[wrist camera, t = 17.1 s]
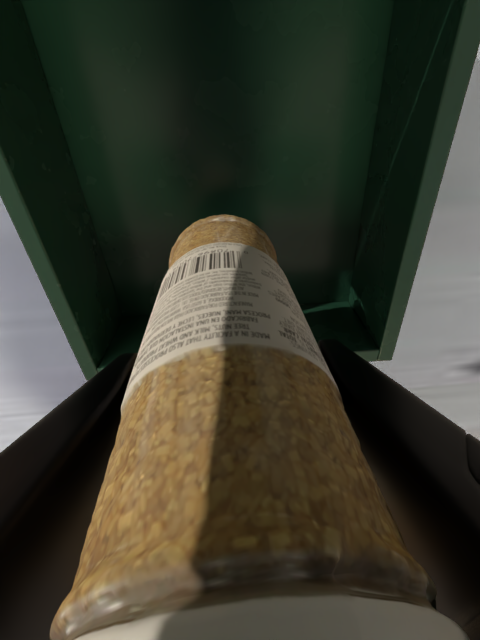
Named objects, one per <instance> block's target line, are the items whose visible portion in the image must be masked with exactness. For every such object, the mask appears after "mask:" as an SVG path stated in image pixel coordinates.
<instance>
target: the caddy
mask: <svg viewBox="0 0 480 640" xmlns="http://www.w3.org/2000/svg"><path fill="white" fill-rule="evenodd" d="M479 44H480V0H0V196H1V198H2V200H3V203H4V205H5V207H6V209H7V211H8V213H9V215H10V218H11V220H12V222H13V224H14V226H15V228H16V230H17V233H18V235H19V237H20V239H21V241H22V243H23V245H24V248H25V250H26V252H27V254H28V256H29V258H30V260H31V263H32V265H33V267H34V269H35V271H36V273H37V275H38V278H39V280H40V282H41V284H42V286H43V288H44V290H45V292H46V295H47V297H48V299H49V301H50V303H51V305H52V307H53V310H54V312H55V314H56V316H57V318H58V320H59V322H60V325H61V327H62V329H63V331H64V333H65V335H66V337H67V340H68V342H69V344H70V346H71V348H72V350H73V352H74V355H75V357H76V359H77V361H78V363H79V365H80V367H81V370H82V372H83V374H84V376H85V378H86V380H90V379H91V378H92V377H94V376H95V375H96V374H97V373H98V372H100V371H101V370H102V369H103V368H105V367H106V366H107V365H108V364H109V363H111V362H112V361H113V360H114V359H116V358H117V357H118V356H119V355H121V354H124V353H138V352H139V349H140V346H141V343H142V340H143V337H144V334H145V331H146V328H147V325H148V322H149V319H150V316H151V313H152V310H153V307H154V304H155V301H156V298H157V295H158V292H159V290H160V287H161V283H162V281H163V279H164V277H165V275H166V273H167V271H168V270H169V258H170V253H171V250H172V247H173V246H174V245H175V243H176V241H177V239H178V237H179V236H180V234H181V233H182V232H183V231H184V230H185V229H186V228H188V227H189V226H190V225H192V224H193V223H194V222H196V221H198V220H200V219H205V218H207V217H209V216H215V215H224V214H226V215H234V216H237V217H241V218H244V219H246V220H248V221H250V222H252V223H254V224H255V225H257V226H258V227H259V228H260V229H261V230H263V231H264V232H265V233H266V235H267V236H268V237H269V239H270V241H271V243H272V244H273V247H274V249H275V252H276V257H277V262H278V265H279V267H280V268H281V269H282V271H283V272H284V274H285V276H286V278H287V280H288V282H289V284H290V286H291V289H292V291H293V293H294V295H295V297H296V299H297V301H298V303H299V306H300V308H301V310H302V312H303V314H304V317H305V319H306V321H307V323H308V325H309V327H310V329H311V331H312V334H313V336H314V338H315V340H316V343H317V345H318V342H319V341H320V340H325V339H336V340H338V341H339V342H341V343H342V344H343V345H345V346H346V347H348V348H349V349H350V350H352V351H353V352H355V353H356V354H357V355H359V356H360V357H362V358H363V359H364V360H366V361H367V362H370V361H385V360H392V357H393V353H394V350H395V346H396V342H397V339H398V335H399V332H400V328H401V324H402V321H403V317H404V314H405V310H406V306H407V303H408V299H409V296H410V292H411V288H412V285H413V281H414V278H415V274H416V270H417V267H418V263H419V260H420V256H421V252H422V249H423V245H424V242H425V238H426V234H427V231H428V227H429V224H430V220H431V217H432V213H433V209H434V206H435V202H436V199H437V195H438V191H439V188H440V184H441V181H442V177H443V173H444V170H445V166H446V163H447V159H448V155H449V152H450V148H451V145H452V141H453V137H454V134H455V130H456V127H457V123H458V119H459V116H460V112H461V109H462V105H463V101H464V98H465V94H466V91H467V87H468V83H469V80H470V76H471V73H472V69H473V65H474V62H475V58H476V55H477V51H478V47H479Z"/></svg>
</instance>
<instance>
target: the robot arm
mask: <svg viewBox="0 0 480 640" xmlns="http://www.w3.org/2000/svg"><path fill="white" fill-rule="evenodd" d="M318 347H319V349H320V351H321V353H322V355H323V357H324V360H325V362H326V364H327V366H328V368H329V370H330V372H331V374H332V376H333V378H334V380H335V382H336V385H337V387H338V389H339V392H340V394H341V397H342V401H343V405H344V410H345V413H346V415H347V417H348V419H349V421H350V423H351V426H352V428H353V430H354V432H355V434H356V436H357V438H358V440H359V442H360V447H361V451H362V453H363V455H364V457H365V458H366V460H367V463H368V465H369V466H370V468H371V470H372V472H373V474H374V476H375V479H376V482H377V485H378V487H379V489H380V492H381V494H382V496H383V498H384V500H385V502H386V504H387V505H388V507H389V509H390V512H391V514H392V516H393V519H394V521H395V523H396V525H397V527H398V529H399V531H400V533H401V535H402V538H403V540H404V543H405V546H406V549H407V551H408V552H409V553H410V555H411V556H412V557H413V558H414V559H415V561H416V562H417V563H418V564H420V565H421V566H422V567H423V568H424V569H425V571H426V572H427V574H428V575H429V577H430V579H431V580H432V582H433V583H434V585H435V587H436V590H437V595H436V598H435V600H436V610H437V611H438V612H440V613H441V614H443V615H444V616H446V617H448V618H449V619H451V620H453V621H454V622H456V623H457V624H458V625H459V626H460V627H461V628H462V629H463V630H464V631H465V632H466V634H467V636H468V637H469V639H470V640H480V441H479V440H477V439H476V438H475V437H473V436H472V435H470V434H466V432H465V431H464V430H463V429H462V428H460V427H459V426H457V425H456V424H455V423H453V422H452V421H450V420H449V419H448V418H446V417H445V416H443V415H442V414H441V413H439V412H438V411H436V410H435V409H434V408H432V407H431V406H429V405H428V404H426V403H425V402H424V401H422V400H421V399H419V398H418V397H417V396H415V395H414V394H412V393H411V392H410V391H408V390H407V389H405V388H404V387H403V386H401V385H400V384H398V383H397V382H395V381H394V380H393V379H391V378H390V377H388V376H387V375H386V374H384V373H383V372H381V371H380V370H379V369H377V368H376V367H374V366H373V365H372V364H370V363H369V362H367V361H366V360H364V359H363V358H362V357H360V356H359V355H357V354H356V353H355V352H353V351H352V350H350V349H349V348H348V347H346V346H345V345H343V344H342V343H341V342H339V341H338V340H336V339H325V340H320V341H319V342H318ZM137 355H138V353H124V354H121V355H119V356H118V357H117V358H116V359H114V360H113V361H112V362H111V363H109V364H108V365H107V366H106V367H105V368H103V369H102V370H101V371H100V372H98V373H97V374H96V375H95V376H94V377H92V378H91V379H90V380H89V381H87V382H86V383H85V384H84V385H83V386H81V387H80V388H79V389H78V390H76V391H75V392H74V393H73V394H72V395H70V396H69V397H68V398H67V399H66V400H64V401H63V402H62V403H61V404H59V405H58V406H57V407H56V408H55V409H53V410H52V411H51V412H50V413H48V414H47V415H46V416H45V417H44V418H42V419H41V420H40V421H39V422H37V423H36V424H35V425H34V426H33V427H31V428H30V429H29V430H28V431H26V432H25V433H24V434H23V435H22V436H20V437H19V438H18V439H17V440H15V441H14V442H13V443H12V444H11V445H9V446H8V447H7V448H6V449H4V450H3V451H2V452H1V453H0V640H49V638H50V634H49V633H50V628H51V624H52V622H53V619H54V617H55V615H56V613H57V611H58V609H59V607H60V606H61V604H62V602H63V601H64V599H65V598H66V597H67V595H68V594H69V593H70V591H71V589H72V587H73V583H74V579H75V576H76V573H77V570H78V567H79V563H80V557H81V553H82V550H83V547H84V543H85V539H86V535H87V531H88V528H89V526H90V524H91V521H92V515H93V512H94V510H95V507H96V502H97V499H98V495H99V492H100V489H101V486H102V483H103V481H104V477H105V473H106V469H107V465H108V462H109V459H110V456H111V453H112V451H113V448H114V446H115V442H116V436H117V432H118V428H119V425H120V423H121V405H122V402H123V399H124V395H125V392H126V389H127V385H128V382H129V379H130V376H131V373H132V370H133V367H134V364H135V361H136V358H137Z"/></svg>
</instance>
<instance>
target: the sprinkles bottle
mask: <svg viewBox="0 0 480 640" xmlns="http://www.w3.org/2000/svg"><path fill="white" fill-rule="evenodd" d="M436 595H437V590H436V587H435V585H434V583H433V582H432V580H431V579H430V577H429V575H428V574H427V572H426V571H425V569H424V568H423V567H422V566H421V565H420V564H418V563H417V562H416V561H415V559H414V558H413V557H412V556H411V555H410V553H409V552H408V551H407V549H406V546H405V543H404V540H403V538H402V535H401V533H400V531H399V529H398V527H397V525H396V523H395V521H394V519H393V516H392V514H391V512H390V509H389V507H388V505H387V504H386V502H385V500H384V498H383V496H382V494H381V492H380V489H379V487H378V485H377V482H376V479H375V476H374V474H373V472H372V470H371V468H370V466H369V465H368V463H367V460H366V458H365V457H364V455H363V453H362V451H361V447H360V442H359V440H358V438H357V436H356V434H355V432H354V430H353V428H352V426H351V423H350V421H349V419H348V417H347V415H346V413H345V410H344V405H343V401H342V397H341V394H340V392H339V389H338V387H337V385H336V382H335V380H334V378H333V376H332V374H331V372H330V370H329V368H328V366H327V364H326V362H325V360H324V357H323V355H322V353H321V351H320V349H319V347H318V345H317V343H316V340H315V338H314V336H313V334H312V331H311V329H310V327H309V325H308V323H307V321H306V319H305V317H304V314H303V312H302V310H301V308H300V306H299V303H298V301H297V299H296V297H295V295H294V293H293V291H292V289H291V286H290V284H289V282H288V280H287V278H286V276H285V274H284V272H283V271H282V269H281V268H280V267H279V265H278V262H277V257H276V252H275V249H274V247H273V244H272V243H271V241H270V239H269V237H268V236H267V235H266V233H265V232H264V231H263V230H261V229H260V228H259V227H258V226H257V225H255V224H254V223H252V222H250V221H248V220H246V219H244V218H241V217H237V216H234V215H226V214H224V215H215V216H209V217H207V218H205V219H200V220H198V221H196V222H194V223H193V224H192V225H190V226H189V227H188V228H186V229H185V230H184V231H183V232H182V233H181V234H180V236H179V237H178V239H177V241H176V243H175V245H174V246H173V247H172V250H171V253H170V258H169V270H168V271H167V273H166V275H165V277H164V279H163V281H162V283H161V287H160V290H159V292H158V295H157V298H156V301H155V304H154V307H153V310H152V313H151V316H150V319H149V322H148V325H147V328H146V331H145V334H144V337H143V340H142V343H141V346H140V349H139V352H138V355H137V358H136V361H135V364H134V367H133V370H132V373H131V376H130V379H129V382H128V385H127V389H126V392H125V395H124V399H123V402H122V405H121V423H120V425H119V428H118V432H117V436H116V442H115V446H114V448H113V451H112V453H111V456H110V459H109V462H108V465H107V469H106V473H105V477H104V481H103V483H102V486H101V489H100V492H99V495H98V499H97V502H96V507H95V510H94V512H93V515H92V521H91V524H90V526H89V528H88V531H87V535H86V539H85V543H84V547H83V550H82V553H81V557H80V563H79V567H78V570H77V573H76V576H75V579H74V583H73V587H72V589H71V591H70V593H69V594H68V595H67V597H66V598H65V599H64V601H63V602H62V604H61V606H60V607H59V609H58V611H57V613H56V615H55V617H54V619H53V622H52V624H51V628H50V633H49V634H50V638H49V640H470V639H469V637H468V636H467V634H466V632H465V631H464V630H463V629H462V628H461V627H460V626H459V625H458V624H457V623H456V622H454V621H453V620H451V619H449V618H448V617H446V616H444V615H443V614H441V613H440V612H438V611H437V610H436V600H435V598H436Z"/></svg>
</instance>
